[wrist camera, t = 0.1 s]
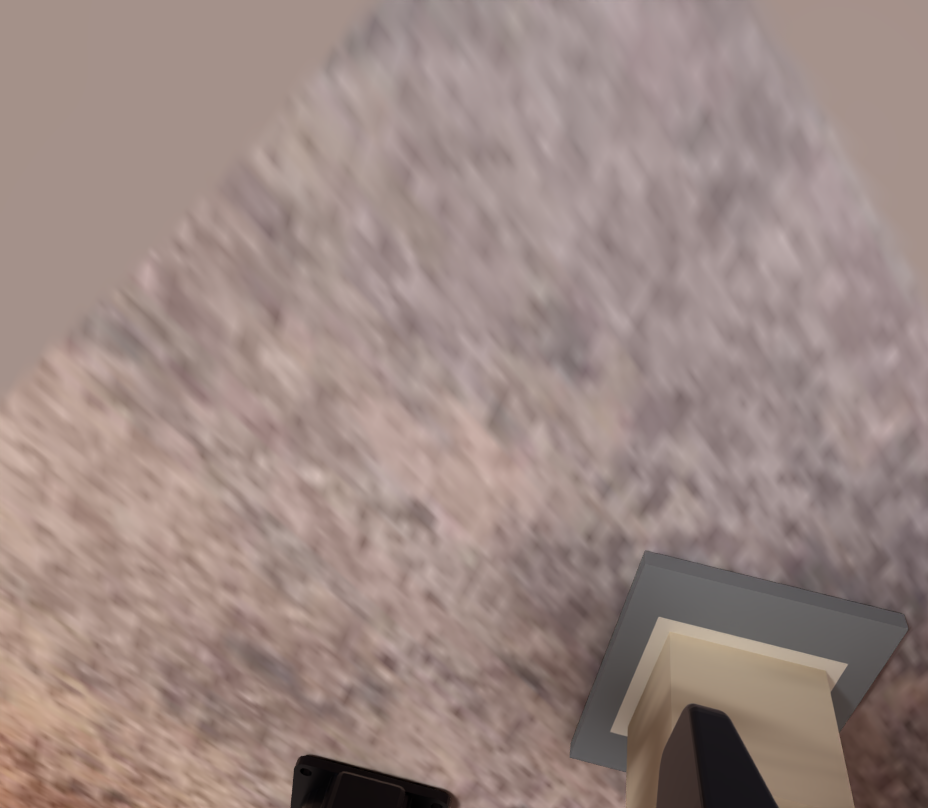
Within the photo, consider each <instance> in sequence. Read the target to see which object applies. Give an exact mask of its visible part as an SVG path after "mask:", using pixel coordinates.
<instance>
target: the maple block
mask: <svg viewBox="0 0 928 808" xmlns="http://www.w3.org/2000/svg"><path fill="white" fill-rule="evenodd" d="M690 703H694V704H698V705H702V706H706V707H710V708H714V709H718V710H721V711H723V712H724V713H726V714H727V715H728V716H729V717H730V719H731V721H732V723H733V724H734V726H735V728H736V730H737V732H738V734H739V735H740V737H741V739H742V741H743V743H744V745H745V746H746V748H747V750H748V752H749V754H750V756H751V757H752V759H753V761H754V763H755V765H756V767H757V768H758V770H759V772H760V774H761V776H762V778H763V779H764V781H765V783H766V785H767V787H768V789H769V790H770V792H771V794H772V796H773V798H774V800H775V802H776V803H777V805H778V807H779V808H855V806H854V801H853V797H852V792H851V787H850V783H849V778H848V773H847V768H846V764H845V759H844V754H843V750H842V745H841V740H840V736H839V731H838V726H837V721H836V717H835V712H834V707H833V703H832V698H831V693H830V688H829V684H828V679H827V674H826V671H825V670H821V669H817V668H813V667H809V666H805V665H801V664H797V663H793V662H789V661H785V660H781V659H777V658H773V657H769V656H765V655H761V654H757V653H753V652H749V651H745V650H741V649H737V648H733V647H729V646H725V645H721V644H717V643H713V642H709V641H705V640H701V639H697V638H693V637H689V636H685V635H681V634H677V633H673V632H669V634H668V636H667V639H666V641H665V643H664V645H663V648H662V650H661V652H660V655H659V657H658V659H657V661H656V664H655V666H654V668H653V671H652V673H651V675H650V677H649V680H648V682H647V684H646V686H645V689H644V691H643V693H642V696H641V698H640V700H639V702H638V705H637V707H636V709H635V712H634V714H633V716H632V718H631V721H630V723H629V725H628V736H627V776H626V808H656V802H657V790H658V779H659V768H660V762H661V757H662V753H663V750H664V747H665V745H666V743H667V741H668V739H669V737H670V735H671V733H672V731H673V729H674V727H675V725H676V723H677V721H678V718H679V716H680V714H681V712H682V711H683V709H684V708H685V707H686V706H687V705H688V704H690Z"/></svg>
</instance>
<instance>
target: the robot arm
mask: <svg viewBox="0 0 928 808" xmlns="http://www.w3.org/2000/svg"><path fill="white" fill-rule="evenodd" d="M450 802H451V799H450V797H449V795H447V794H446V793H444V792H442V791H438V790H434V789H431V788H427V787H423V786H419V785H416V784H412V783H408V782H404V781H401V780H397V779H393V778H389V777H386V776H382V775H378V774H374V773H370V772H367V771H363V770H359V769H355V768H352V767H348V766H344V765H340V764H337V763H333V762H329V761H325V760H322V759H318V758H314V757H310V756H301V757H299V758H298V760H297V763H296V765H295V768H294V776H293V787H292V798H291V808H449V807H450ZM656 808H779V807H778V805H777V803H776V802H775V800H774V798H773V796H772V794H771V792H770V790H769V789H768V787H767V785H766V783H765V781H764V779H763V778H762V776H761V774H760V772H759V770H758V768H757V767H756V765H755V763H754V761H753V759H752V757H751V756H750V754H749V752H748V750H747V748H746V746H745V745H744V743H743V741H742V739H741V737H740V735H739V734H738V732H737V730H736V728H735V726H734V724H733V723H732V721H731V719H730V717H729V716H728V715H727V714H726V713H724V712H723V711H721V710H718V709H714V708H710V707H706V706H702V705H698V704H694V703H690V704H688V705H687V706H686V707H685V708H684V709H683V711H682V712H681V714H680V716H679V718H678V721H677V723H676V725H675V727H674V729H673V731H672V733H671V735H670V737H669V739H668V741H667V743H666V745H665V747H664V750H663V753H662V757H661V762H660V768H659V779H658V790H657V802H656Z"/></svg>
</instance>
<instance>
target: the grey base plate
mask: <svg viewBox="0 0 928 808" xmlns="http://www.w3.org/2000/svg"><path fill="white" fill-rule="evenodd" d="M907 631H908V626H907V623H906V620H905V616H904V614H901V613H897V612H893V611H889V610H885V609H881V608H876V607H872V606H868V605H864V604H860V603H856V602H852V601H848V600H844V599H840V598H836V597H832V596H828V595H824V594H820V593H815V592H811V591H807V590H803V589H799V588H795V587H791V586H787V585H783V584H779V583H775V582H771V581H767V580H763V579H759V578H754V577H750V576H746V575H742V574H738V573H734V572H730V571H726V570H722V569H718V568H714V567H710V566H706V565H702V564H698V563H694V562H689V561H685V560H681V559H677V558H673V557H669V556H665V555H661V554H657V553H653V552H649V551H645V552H644V555H643V557H642V560H641V563H640V565H639V568H638V570H637V573H636V576H635V578H634V581H633V583H632V586H631V589H630V591H629V594H628V596H627V599H626V602H625V604H624V607H623V609H622V612H621V615H620V617H619V620H618V622H617V625H616V627H615V630H614V633H613V635H612V638H611V640H610V643H609V646H608V648H607V651H606V653H605V656H604V659H603V661H602V664H601V666H600V669H599V672H598V674H597V677H596V679H595V682H594V685H593V687H592V690H591V692H590V695H589V697H588V700H587V703H586V705H585V708H584V710H583V713H582V716H581V718H580V721H579V723H578V726H577V729H576V731H575V734H574V736H573V739H572V742H571V746H570V758H573V759H577V760H581V761H585V762H589V763H593V764H596V765H600V766H604V767H608V768H612V769H616V770H619V771H623V772H627V736H628V725H629V723H630V721H631V718H632V716H633V714H634V712H635V709H636V707H637V705H638V702H639V700H640V698H641V696H642V693H643V691H644V689H645V686H646V684H647V682H648V680H649V677H650V675H651V673H652V671H653V668H654V666H655V664H656V661H657V659H658V657H659V655H660V652H661V650H662V648H663V645H664V643H665V641H666V639H667V636H668V634H669V632H673V633H677V634H681V635H685V636H689V637H693V638H697V639H701V640H705V641H709V642H713V643H717V644H721V645H725V646H729V647H733V648H737V649H741V650H745V651H749V652H753V653H757V654H761V655H765V656H769V657H773V658H777V659H781V660H785V661H789V662H793V663H797V664H801V665H805V666H809V667H813V668H817V669H821V670H825V671H826V674H827V679H828V684H829V688H830V693H831V698H832V703H833V707H834V712H835V717H836V721H837V726H838V731H839V733H840V731H841V730H842V728H843V727H844V725H845V724H846V722H847V721H848V719H849V718H850V716H851V715H852V713H853V712H854V710H855V709H856V707H857V706H858V704H859V703H860V701H861V700H862V698H863V697H864V695H865V694H866V692H867V691H868V689H869V688H870V686H871V685H872V683H873V682H874V680H875V679H876V677H877V676H878V674H879V673H880V671H881V670H882V668H883V667H884V665H885V664H886V662H887V661H888V659H889V658H890V656H891V655H892V653H893V652H894V650H895V649H896V647H897V646H898V644H899V643H900V641H901V640H902V638H903V637H904V635H905V634H906V632H907Z"/></svg>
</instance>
